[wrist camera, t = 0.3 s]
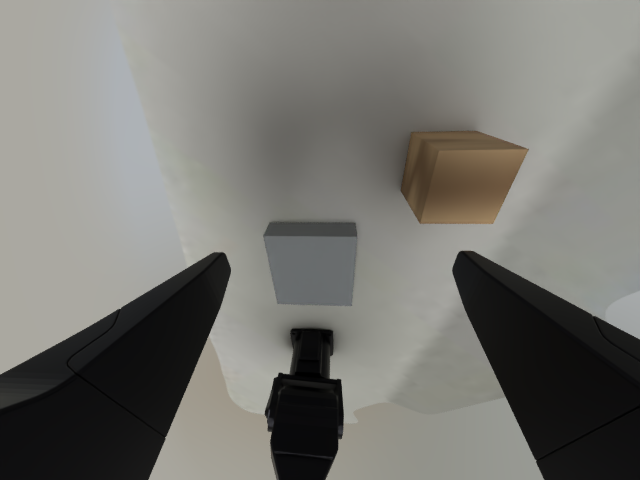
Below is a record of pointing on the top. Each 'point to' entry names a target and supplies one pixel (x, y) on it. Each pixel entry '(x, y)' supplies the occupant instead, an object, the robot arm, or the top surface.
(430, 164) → the teak block
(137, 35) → the top surface
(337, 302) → the slate slab
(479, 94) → the top surface
